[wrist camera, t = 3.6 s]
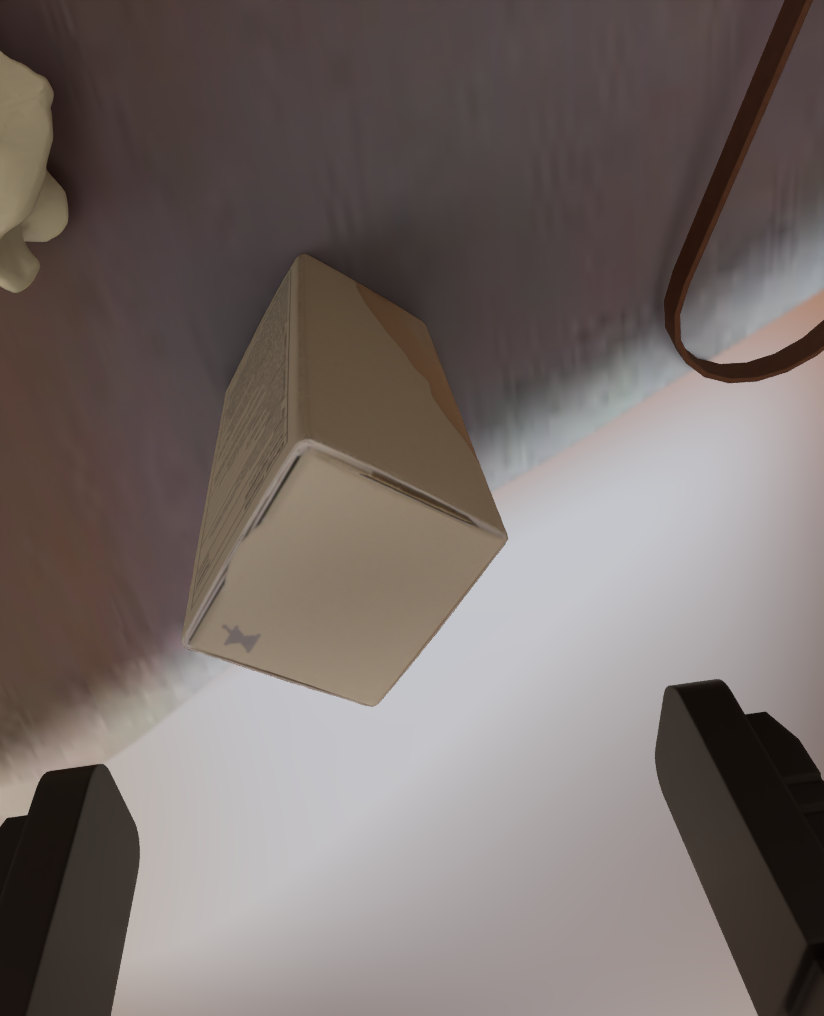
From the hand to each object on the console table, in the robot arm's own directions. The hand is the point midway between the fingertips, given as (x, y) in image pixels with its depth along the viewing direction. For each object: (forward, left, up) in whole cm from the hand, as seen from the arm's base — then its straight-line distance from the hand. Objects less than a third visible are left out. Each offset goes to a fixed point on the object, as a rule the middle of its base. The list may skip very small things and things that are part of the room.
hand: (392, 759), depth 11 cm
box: (-1, 0, -15) cm, 15 cm away
